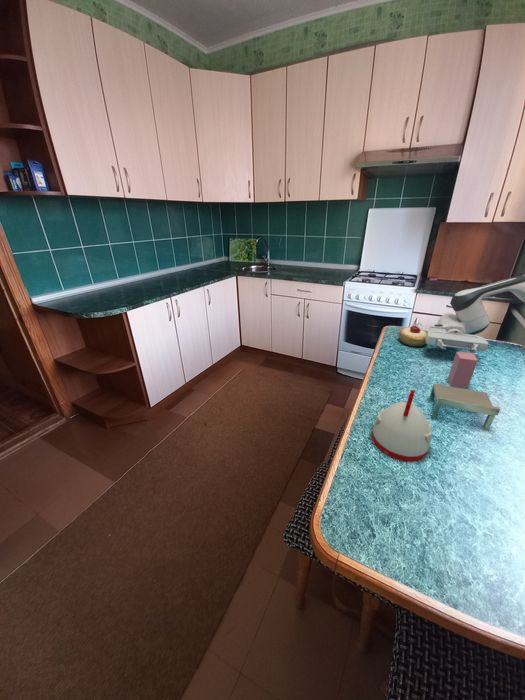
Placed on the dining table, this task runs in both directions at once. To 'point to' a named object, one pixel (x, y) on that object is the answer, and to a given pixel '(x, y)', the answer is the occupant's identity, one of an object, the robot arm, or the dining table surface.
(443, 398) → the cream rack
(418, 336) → the pastry
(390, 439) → the kitchen timer
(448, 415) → the dining table surface
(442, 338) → the robot arm
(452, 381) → the pink carton
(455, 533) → the dining table surface
